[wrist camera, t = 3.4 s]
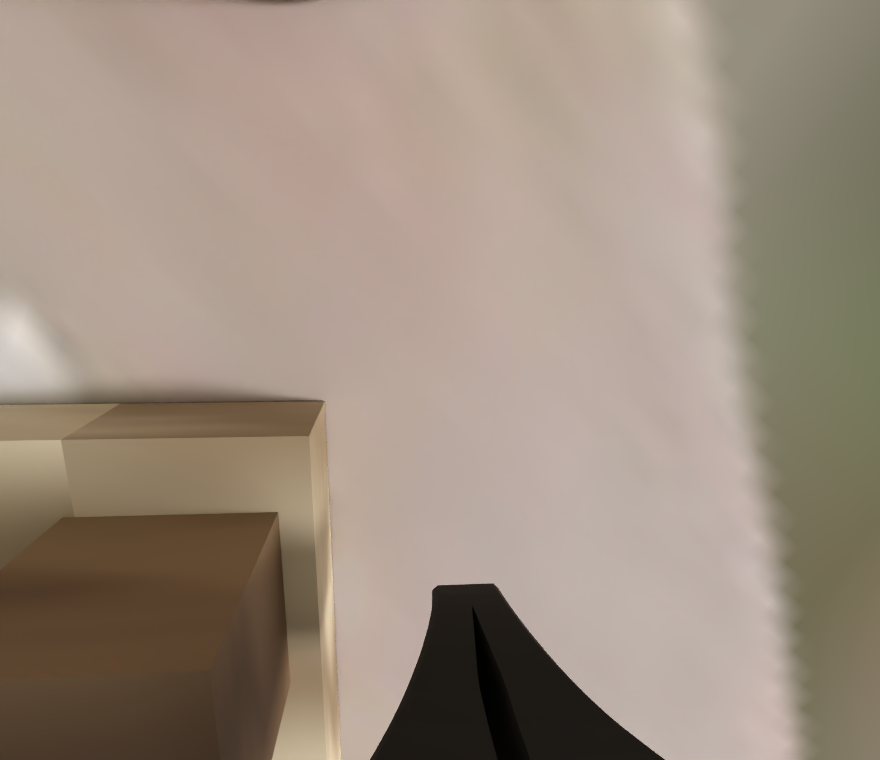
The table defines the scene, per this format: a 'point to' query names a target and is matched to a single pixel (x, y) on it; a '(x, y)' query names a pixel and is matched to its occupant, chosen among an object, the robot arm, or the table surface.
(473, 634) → the robot arm
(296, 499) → the trap board
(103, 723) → the walnut block
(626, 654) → the table surface
